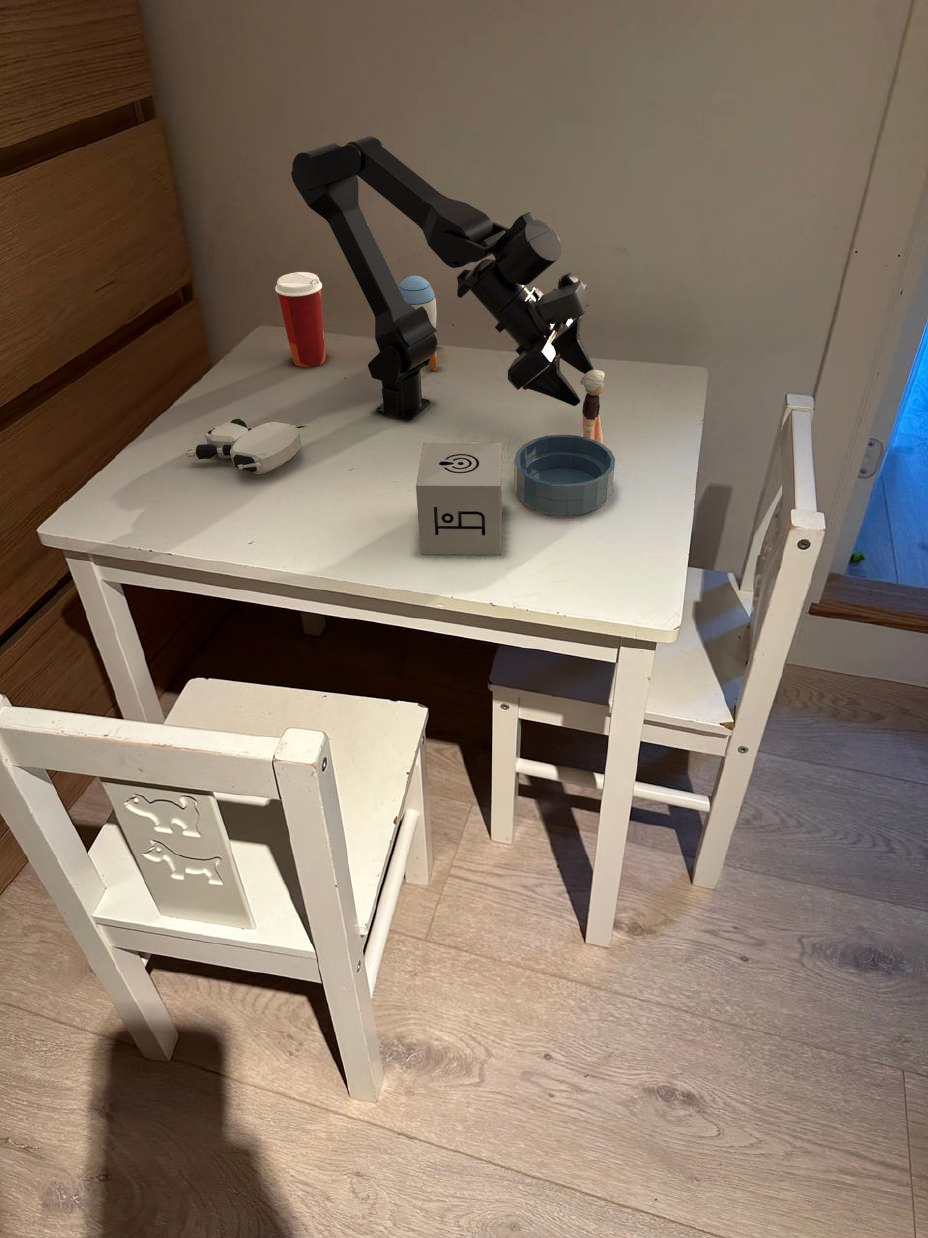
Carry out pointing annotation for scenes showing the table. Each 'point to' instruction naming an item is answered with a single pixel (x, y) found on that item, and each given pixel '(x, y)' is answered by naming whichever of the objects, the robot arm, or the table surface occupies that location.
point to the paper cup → (303, 317)
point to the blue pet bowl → (563, 474)
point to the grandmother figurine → (592, 404)
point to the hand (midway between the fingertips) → (585, 388)
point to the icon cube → (460, 498)
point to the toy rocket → (421, 301)
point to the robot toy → (251, 445)
